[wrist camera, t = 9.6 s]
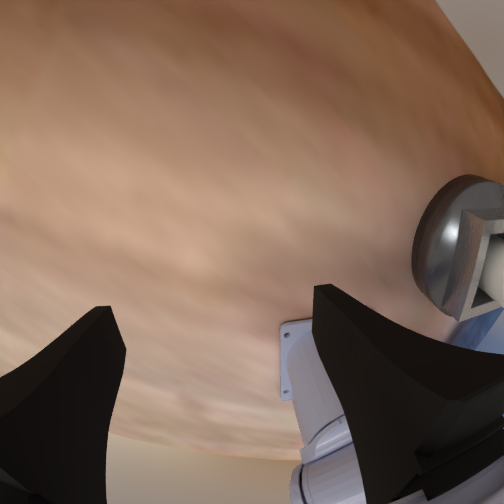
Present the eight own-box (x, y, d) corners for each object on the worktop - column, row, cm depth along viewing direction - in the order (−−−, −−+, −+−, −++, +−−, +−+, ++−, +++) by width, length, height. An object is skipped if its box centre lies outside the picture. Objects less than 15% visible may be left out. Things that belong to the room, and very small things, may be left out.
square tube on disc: (485, 288, 25) (516, 315, 20) (400, 310, 24) (432, 348, 19) (507, 177, 20) (549, 194, 15) (420, 172, 19) (470, 190, 14)
